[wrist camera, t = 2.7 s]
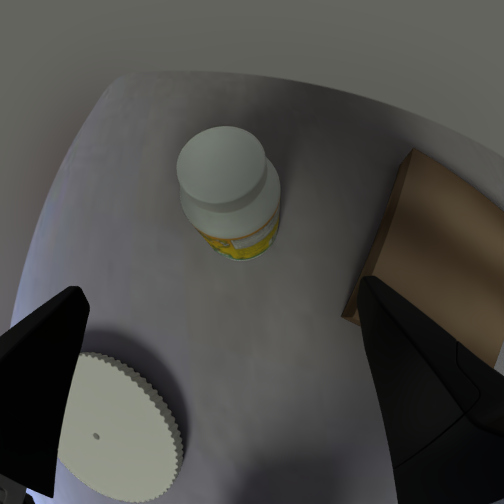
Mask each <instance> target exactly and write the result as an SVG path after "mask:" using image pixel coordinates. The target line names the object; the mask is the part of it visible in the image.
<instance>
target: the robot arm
mask: <svg viewBox="0 0 504 504" xmlns="http://www.w3.org/2000/svg"><path fill="white" fill-rule="evenodd" d="M357 309H358V314H359V319H360V324H361V330H362V336H363V342H364V347H365V351H366V355H367V359H368V362H369V366H370V369H371V373H372V377H373V381H374V384H375V388H376V392H377V396H378V400H379V405H380V409H381V413H382V417H383V422H384V426H385V431H386V436H387V440H388V445H389V451H390V456H391V461H392V467H393V469H394V470H393V473H394V480H395V486H396V493H397V500H398V504H504V376H503V375H502V374H500V373H499V372H497V371H496V370H495V369H493V368H492V367H491V366H489V365H488V364H487V363H485V362H484V361H483V360H481V359H480V358H479V357H478V356H476V355H475V354H474V353H473V352H471V351H470V350H469V349H468V348H467V347H465V346H464V345H463V344H462V343H461V342H459V341H457V340H456V338H454V337H453V336H452V335H451V334H450V333H448V332H447V331H446V330H445V329H444V328H442V327H441V326H440V325H439V324H437V323H436V322H435V321H434V320H432V319H431V318H430V317H429V316H427V315H426V314H425V313H424V312H422V311H421V310H420V309H419V308H417V307H416V306H415V305H413V304H412V303H411V302H410V301H408V300H407V299H406V298H404V297H403V296H402V295H400V294H399V293H398V292H396V291H395V290H394V289H393V288H391V287H390V286H389V285H387V284H386V283H385V282H383V281H382V280H380V279H379V278H378V277H376V276H374V275H371V276H363V277H362V278H361V280H360V284H359V289H358V294H357ZM89 312H90V306H89V303H88V301H87V299H86V297H85V295H84V293H83V291H82V289H81V288H80V287H79V286H69V287H67V288H66V289H64V290H63V291H61V292H60V293H59V294H57V295H56V296H54V297H53V298H51V299H50V300H49V301H47V302H46V303H44V304H43V305H42V306H40V307H39V308H37V309H36V310H35V311H33V312H32V313H31V314H29V315H28V316H27V317H25V318H24V319H22V320H21V321H20V322H19V323H17V324H16V325H15V326H13V327H12V328H11V329H9V330H8V331H7V332H5V333H4V334H3V335H2V336H0V504H35V502H34V500H33V498H32V496H31V495H29V494H27V493H26V489H27V488H29V489H31V490H33V491H36V492H38V493H40V494H43V495H45V496H47V497H50V498H53V496H54V484H55V473H56V464H57V456H58V448H59V441H60V435H61V430H62V424H63V419H64V414H65V409H66V405H67V400H68V396H69V391H70V387H71V383H72V379H73V376H74V372H75V368H76V365H77V361H78V358H79V354H80V351H81V347H82V342H83V338H84V333H85V328H86V324H87V320H88V316H89Z"/></svg>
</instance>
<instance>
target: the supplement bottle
mask: <svg viewBox="0 0 504 504" xmlns="http://www.w3.org/2000/svg"><path fill="white" fill-rule="evenodd" d="M176 171H177V177H178V181H179V183H180V185H181V186H180V201H181V205H182V209H183V211H184V213H185V215H186V217H187V218H188V220H189V221H190V222H191V223H192V225H193V226H194V227H195V228H196V229H197V230H198V232H199V233H200V234H201V235H202V236H203V237H204V238H205V240H206V241H207V242H208V243H209V244H210V246H211V247H212V248H213V249H214V250H215V251H216V252H218V253H219V254H221V255H222V256H224V257H227V258H229V259H232V260H236V261H247V260H251V259H254V258H257V257H258V256H260V255H262V254H263V253H265V252H266V251H267V250H268V249H269V248H270V247H271V245H272V244H273V242H274V240H275V238H276V236H277V232H278V225H279V211H280V195H281V187H280V180H279V176H278V173H277V171H276V169H275V167H274V166H273V164H272V163H271V162H270V160H269V159H268V158H267V157H266V156H265V151H264V149H263V146H262V145H261V143H260V142H259V140H258V139H257V138H256V137H255V136H254V135H252V134H251V133H250V132H248V131H246V130H243V129H241V128H237V127H232V126H219V127H214V128H210V129H207V130H205V131H203V132H201V133H199V134H197V135H196V136H194V137H193V138H192V139H191V140H190V141H188V142H187V144H186V145H185V146H184V147H183V149H182V150H181V152H180V154H179V157H178V160H177V166H176Z"/></svg>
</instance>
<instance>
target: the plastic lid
mask: <svg viewBox="0 0 504 504" xmlns="http://www.w3.org/2000/svg"><path fill="white" fill-rule="evenodd" d="M157 393H158V391H157V390H156V389H155V390H154V389H153V388H152V385H151V384H150V383H149V384H148V383H147V382H146V379H145V378H144V377H143V378H142V377H140V374H139V373H138V372H136V373H135V372H134V369H133V368H128V367H127V364H125V363H124V364H122V363H121V361H120V360H114V358H113V357H109V358H108V355H102V354H101V353H97V354H96V353H95V352H92V353H90V352H85V353H84V352H82V353H80V354H79V358H78V361H77V365H76V368H75V372H74V376H73V379H72V383H71V387H70V391H69V396H68V400H67V405H66V409H65V414H64V419H63V424H62V430H61V435H60V441H59V448H58V456H57V457H58V458H60V461H61V462H62V463H64V465H65V467H66V468H68V469H69V471H70V472H71V473H73V474H74V476H75V477H76V478H79V480H80V481H81V482H84V484H85V485H86V486H87V485H88V486H89V487H90V488H91V489H94V490H96V492H100V493H101V494H102V495H107V497H109V498H110V497H112V498H113V499H115V500H116V499H119V501H123V500H124V501H125V502H128V501H130V502H131V503H134V502H135V501H136V502H137V503H139V502H140V501H142V502H145V501H146V500H147V501H150V500H151V499H152V500H154V499H155V498H156V497H157V498H158V497H160V495H163V494H164V493H165V492H167V490H168V489H169V488H170V487H171V485H172V484H173V482H174V481H175V479H176V478H177V476H178V474H179V472H180V470H181V466H182V463H181V462H182V460H183V457H182V455H183V451H182V448H183V445H182V444H181V442H182V438H180V436H179V435H180V434H181V433H180V431H178V430H177V428H178V424H175V422H174V421H175V418H174V417H172V415H171V413H172V412H171V410H168V408H167V406H168V405H167V404H166V403H164V402H163V401H162V400H163V398H162V396H159V395H158V394H157Z"/></svg>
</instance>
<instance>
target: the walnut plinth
mask: <svg viewBox="0 0 504 504" xmlns="http://www.w3.org/2000/svg"><path fill="white" fill-rule="evenodd" d="M371 275H374V276H376V277H378V278H379V279H380V280H382V281H383V282H385V283H386V284H387V285H389V286H390V287H391V288H393V289H394V290H395V291H396V292H398V293H399V294H400V295H402V296H403V297H404V298H406V299H407V300H408V301H410V302H411V303H412V304H413V305H415V306H416V307H417V308H419V309H420V310H421V311H422V312H424V313H425V314H426V315H427V316H429V317H430V318H431V319H432V320H434V321H435V322H436V323H437V324H439V325H440V326H441V327H442V328H444V329H445V330H446V331H447V332H448V333H450V334H451V335H452V336H453V337H454V338H456V340H457V341H459V342H461V343H462V344H463V345H464V346H465V347H467V348H468V349H469V350H470V351H471V352H473V353H474V354H475V355H476V356H478V357H479V358H480V359H481V360H483V361H484V362H485V363H487V364H488V365H489V366H491V367H492V368H493V369H494V366H495V363H496V361H497V358H498V355H499V352H500V349H501V346H502V343H503V340H504V212H503V211H502V210H501V209H500V208H498V207H497V206H496V205H495V204H494V203H492V202H491V201H490V200H489V199H488V198H486V197H485V196H484V195H483V194H481V193H480V192H479V191H477V190H476V189H475V188H473V187H472V186H471V185H469V184H468V183H467V182H465V181H464V180H463V179H461V178H460V177H458V176H457V175H455V174H454V173H453V172H451V171H450V170H448V169H447V168H445V167H444V166H442V165H441V164H439V163H438V162H436V161H435V160H433V159H431V158H430V157H428V156H427V155H425V154H423V153H422V152H420V151H418V150H417V149H415V148H413V149H412V150H411V152H410V153H409V154H408V156H407V157H406V158H405V159H404V161H403V162H402V163H401V164H400V167H399V170H398V173H397V177H396V180H395V183H394V186H393V189H392V192H391V195H390V198H389V201H388V204H387V207H386V210H385V213H384V216H383V219H382V221H381V224H380V227H379V229H378V232H377V235H376V237H375V240H374V243H373V245H372V248H371V250H370V253H369V255H368V258H367V260H366V263H365V265H364V267H363V270H362V272H361V274H360V277H359V279H358V281H357V284H356V286H355V288H354V290H353V293H352V295H351V297H350V299H349V301H348V304H347V306H346V308H345V310H344V312H343V314H342V316H341V317H342V318H344V319H346V320H348V321H350V322H352V323H355V324H357V325H359V326H361V324H360V319H359V314H358V309H357V294H358V289H359V284H360V280H361V278H362V277H363V276H371Z"/></svg>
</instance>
